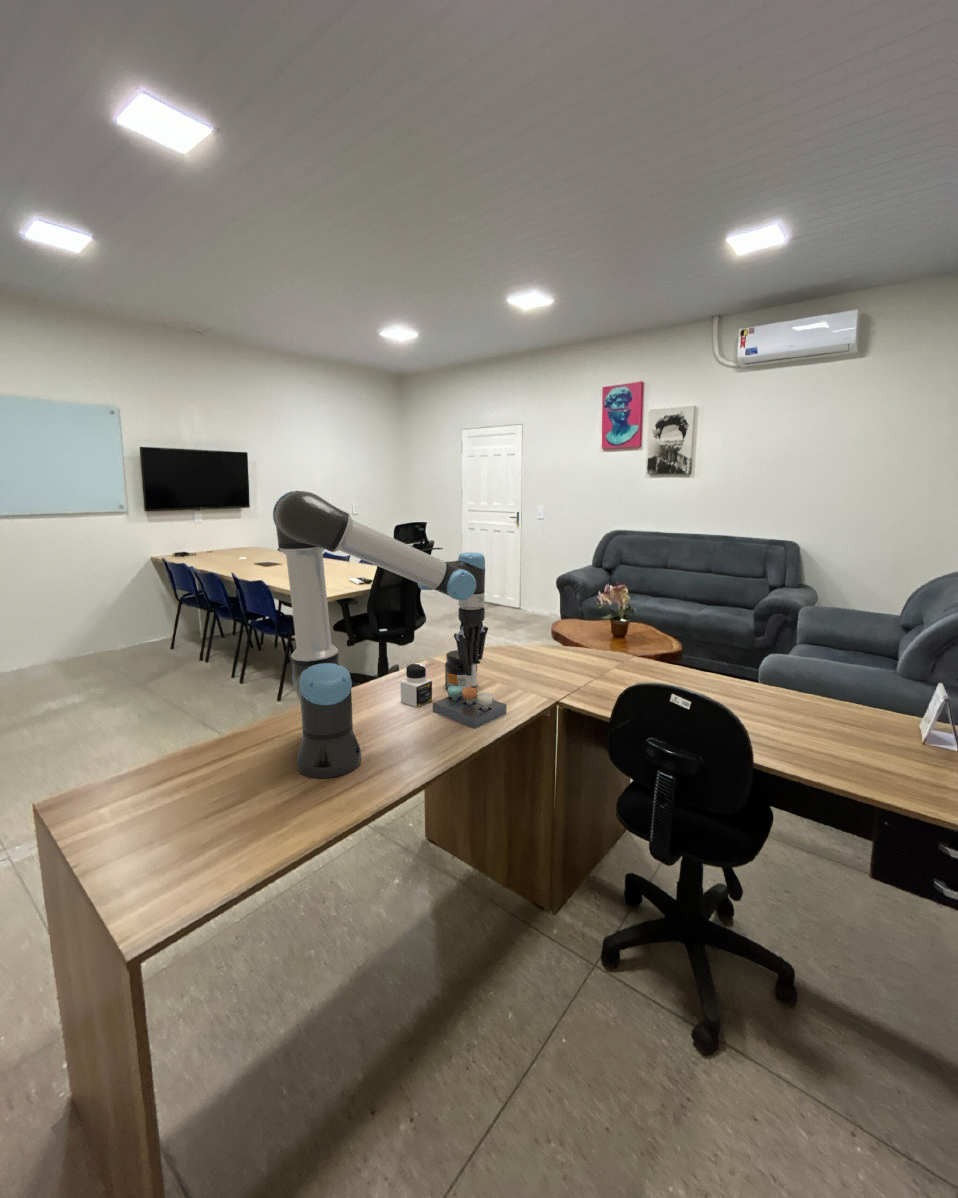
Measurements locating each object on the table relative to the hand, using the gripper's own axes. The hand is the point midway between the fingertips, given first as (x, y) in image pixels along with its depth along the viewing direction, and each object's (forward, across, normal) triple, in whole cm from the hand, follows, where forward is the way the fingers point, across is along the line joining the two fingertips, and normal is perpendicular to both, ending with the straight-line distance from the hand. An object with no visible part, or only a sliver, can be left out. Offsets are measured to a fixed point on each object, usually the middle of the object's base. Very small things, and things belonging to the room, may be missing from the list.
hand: (471, 684), depth 158 cm
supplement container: (+9, +13, +16) cm, 23 cm away
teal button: (+8, 0, +6) cm, 10 cm away
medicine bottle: (+9, -5, +19) cm, 21 cm away
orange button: (+7, 0, 0) cm, 7 cm away
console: (+9, 0, 0) cm, 9 cm away
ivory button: (+7, 0, -6) cm, 9 cm away
